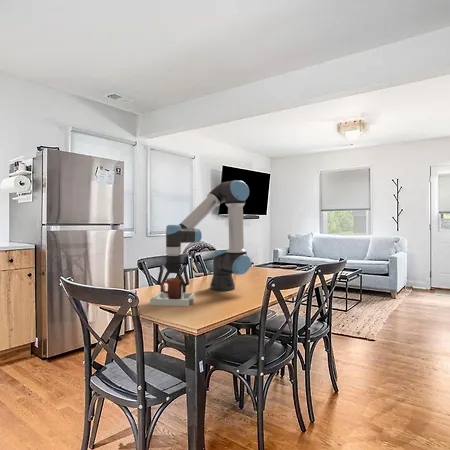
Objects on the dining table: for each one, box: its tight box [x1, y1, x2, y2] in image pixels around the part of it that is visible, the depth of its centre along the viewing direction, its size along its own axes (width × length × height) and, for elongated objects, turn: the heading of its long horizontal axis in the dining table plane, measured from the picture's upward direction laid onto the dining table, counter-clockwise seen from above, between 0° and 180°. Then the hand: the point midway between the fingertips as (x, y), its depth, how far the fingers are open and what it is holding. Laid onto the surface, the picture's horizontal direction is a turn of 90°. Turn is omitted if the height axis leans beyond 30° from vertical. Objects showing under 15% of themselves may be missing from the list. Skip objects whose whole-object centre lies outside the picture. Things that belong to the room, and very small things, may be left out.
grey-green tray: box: [149, 291, 195, 307], centre depth 182 cm, size 21×17×3 cm
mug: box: [160, 277, 185, 299], centre depth 182 cm, size 12×9×10 cm
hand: (173, 298), depth 182 cm, fingers closed on mug, 9 cm apart
